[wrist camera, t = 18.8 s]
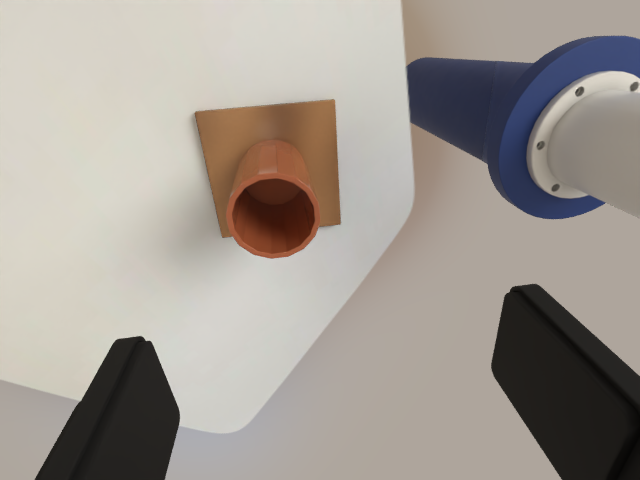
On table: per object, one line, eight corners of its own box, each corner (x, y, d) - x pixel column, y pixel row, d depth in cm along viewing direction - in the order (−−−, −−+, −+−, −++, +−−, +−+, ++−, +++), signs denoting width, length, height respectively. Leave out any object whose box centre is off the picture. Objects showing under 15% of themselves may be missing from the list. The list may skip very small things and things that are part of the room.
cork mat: (334, 99, 32) (335, 99, 31) (339, 222, 38) (340, 224, 37) (195, 111, 31) (194, 112, 31) (222, 235, 37) (222, 237, 36)
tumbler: (304, 136, 33) (316, 168, 24) (310, 202, 36) (322, 252, 27) (232, 143, 32) (217, 178, 23) (244, 209, 35) (235, 262, 26)
